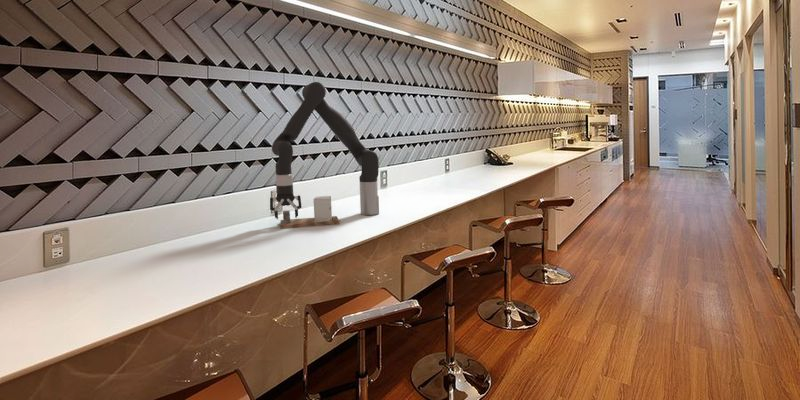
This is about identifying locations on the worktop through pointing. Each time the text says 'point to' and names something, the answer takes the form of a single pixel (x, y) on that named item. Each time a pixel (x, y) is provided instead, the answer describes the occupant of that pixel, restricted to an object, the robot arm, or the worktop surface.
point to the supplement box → (322, 209)
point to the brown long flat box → (303, 221)
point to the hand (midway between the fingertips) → (286, 218)
